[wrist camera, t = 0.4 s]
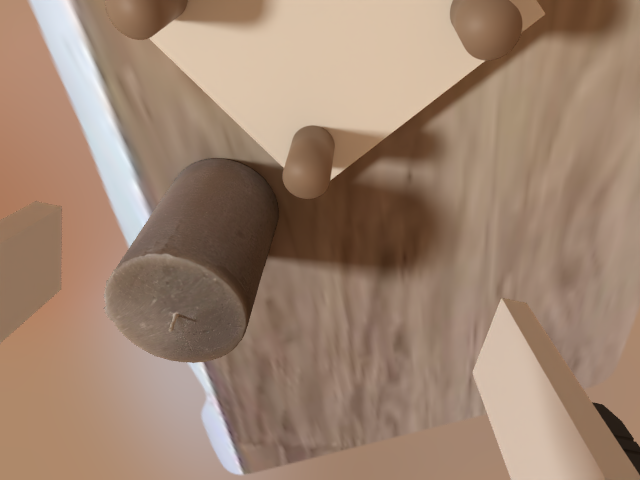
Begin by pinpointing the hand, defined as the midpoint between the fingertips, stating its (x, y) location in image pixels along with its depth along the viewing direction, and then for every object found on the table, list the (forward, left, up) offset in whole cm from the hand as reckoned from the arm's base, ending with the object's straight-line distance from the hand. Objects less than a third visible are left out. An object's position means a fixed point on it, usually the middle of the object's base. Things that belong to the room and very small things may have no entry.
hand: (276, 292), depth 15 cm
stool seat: (-2, -3, -26) cm, 26 cm away
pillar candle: (+16, +4, -26) cm, 31 cm away
